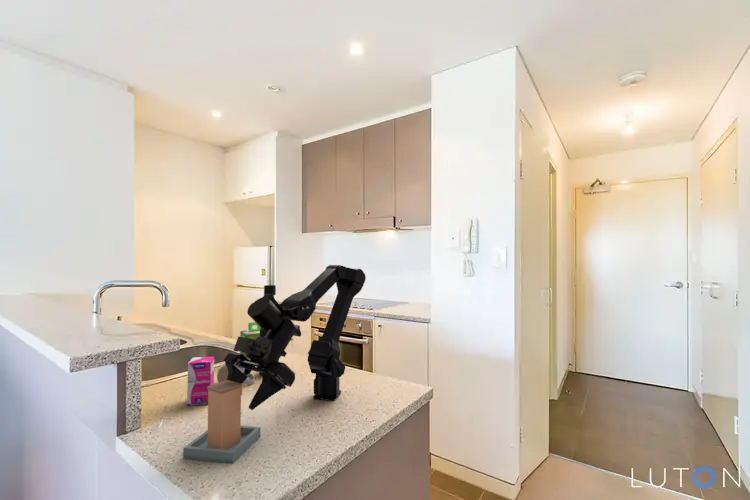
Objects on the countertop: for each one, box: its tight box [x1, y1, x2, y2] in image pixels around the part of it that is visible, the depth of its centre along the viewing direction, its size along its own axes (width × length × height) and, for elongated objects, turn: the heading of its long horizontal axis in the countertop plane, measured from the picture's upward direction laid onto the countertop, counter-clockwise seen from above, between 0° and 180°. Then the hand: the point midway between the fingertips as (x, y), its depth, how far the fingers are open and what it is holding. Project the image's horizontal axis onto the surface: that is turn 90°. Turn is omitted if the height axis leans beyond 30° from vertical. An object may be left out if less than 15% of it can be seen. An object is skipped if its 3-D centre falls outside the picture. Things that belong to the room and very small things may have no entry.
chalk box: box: [239, 321, 260, 360], centre depth 136 cm, size 9×9×15 cm
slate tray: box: [182, 425, 262, 465], centre depth 73 cm, size 11×11×2 cm
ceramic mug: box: [216, 361, 256, 386], centre depth 111 cm, size 11×8×8 cm
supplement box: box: [186, 355, 215, 407], centre depth 97 cm, size 6×6×12 cm
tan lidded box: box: [207, 380, 243, 450], centre depth 73 cm, size 5×5×12 cm
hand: (236, 404), depth 76 cm, fingers open, 9 cm apart
